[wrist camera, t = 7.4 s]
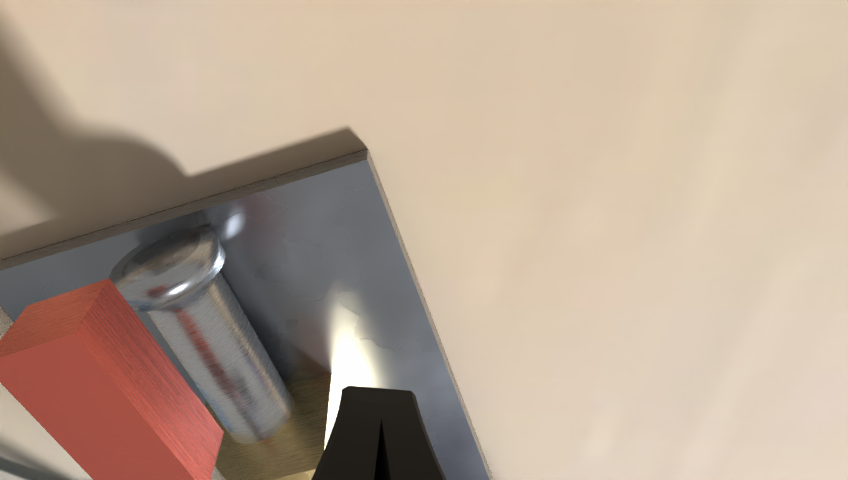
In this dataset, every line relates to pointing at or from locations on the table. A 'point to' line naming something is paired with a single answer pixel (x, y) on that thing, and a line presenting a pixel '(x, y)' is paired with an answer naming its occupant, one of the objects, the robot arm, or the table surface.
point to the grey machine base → (274, 312)
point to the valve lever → (108, 389)
